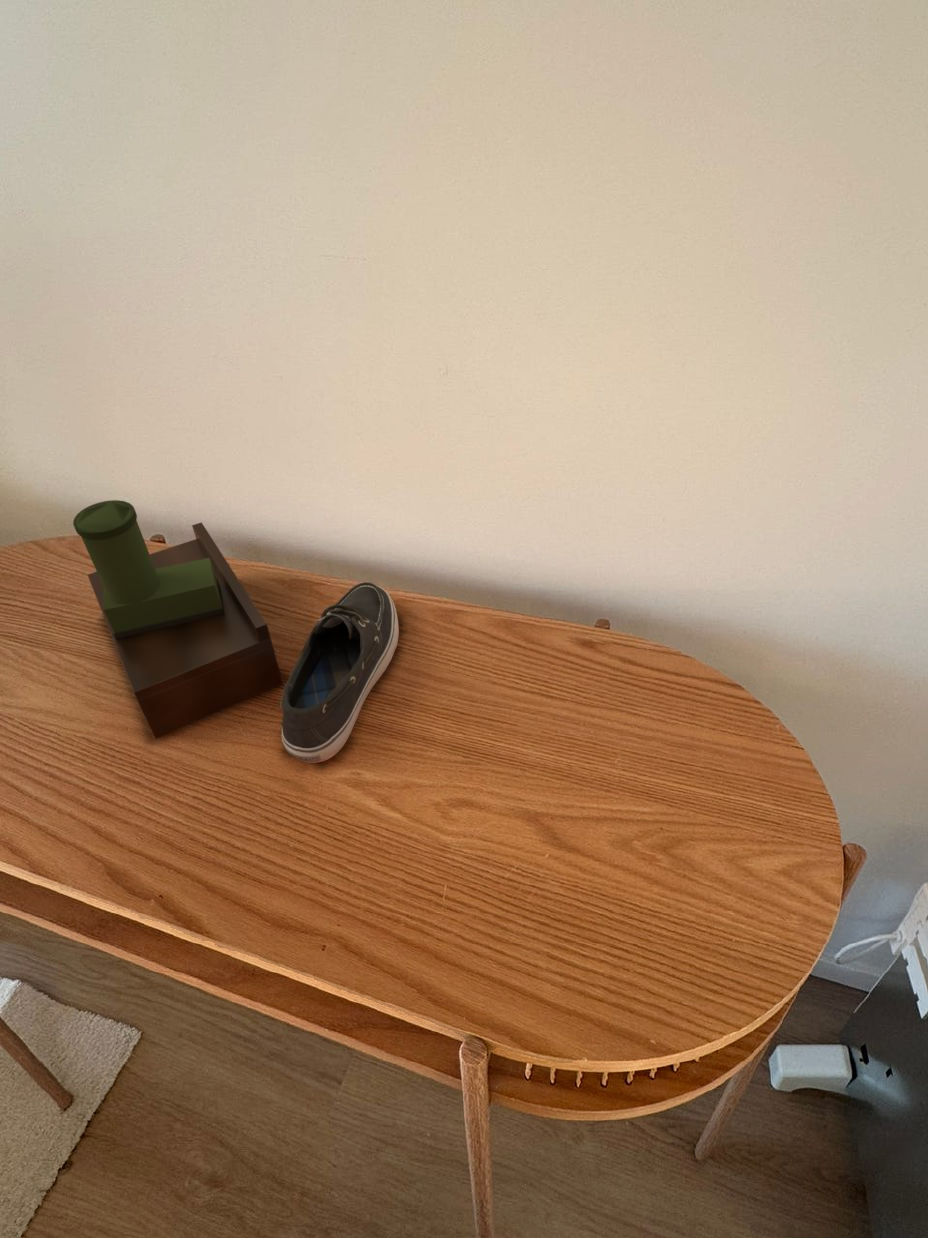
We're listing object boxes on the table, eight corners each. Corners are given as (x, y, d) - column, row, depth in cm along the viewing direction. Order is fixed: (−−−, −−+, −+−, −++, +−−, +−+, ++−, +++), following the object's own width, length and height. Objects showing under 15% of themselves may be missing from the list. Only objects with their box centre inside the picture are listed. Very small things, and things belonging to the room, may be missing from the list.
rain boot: (115, 640, 76) (68, 538, 67) (115, 607, 80) (70, 507, 71) (224, 614, 79) (193, 513, 70) (219, 584, 83) (188, 485, 74)
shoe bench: (155, 738, 75) (127, 678, 69) (107, 619, 89) (80, 560, 83) (283, 684, 81) (267, 623, 75) (219, 579, 95) (201, 522, 89)
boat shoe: (348, 597, 92) (340, 542, 86) (416, 608, 90) (412, 553, 84) (254, 756, 73) (235, 700, 68) (336, 774, 72) (324, 718, 66)
